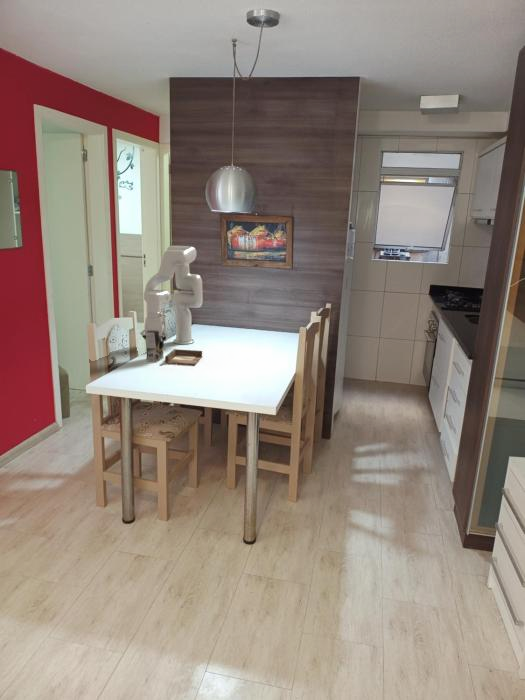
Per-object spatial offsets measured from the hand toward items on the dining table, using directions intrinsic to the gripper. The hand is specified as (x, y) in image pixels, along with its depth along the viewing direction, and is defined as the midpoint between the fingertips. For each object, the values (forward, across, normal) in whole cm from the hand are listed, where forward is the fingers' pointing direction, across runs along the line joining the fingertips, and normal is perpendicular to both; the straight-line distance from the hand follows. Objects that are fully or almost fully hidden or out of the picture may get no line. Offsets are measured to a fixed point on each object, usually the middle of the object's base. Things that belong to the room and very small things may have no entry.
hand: (154, 347), depth 285 cm
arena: (+7, -16, -1) cm, 17 cm away
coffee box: (+7, 0, 0) cm, 7 cm away
